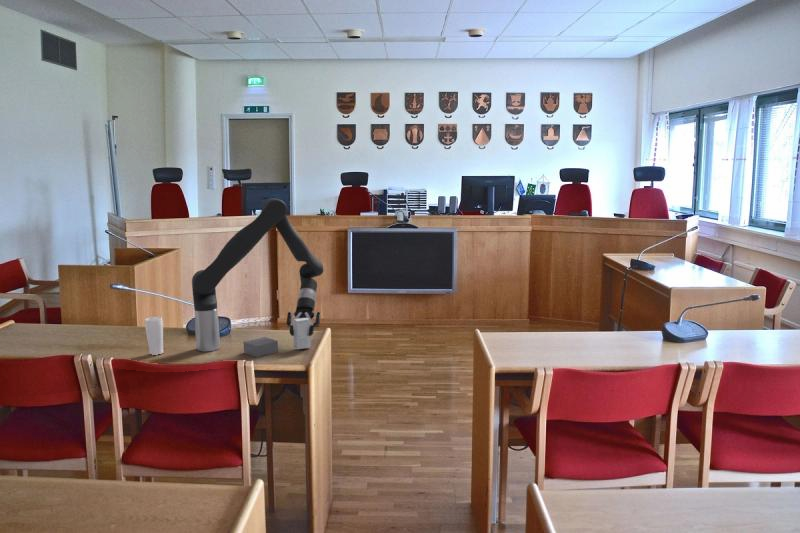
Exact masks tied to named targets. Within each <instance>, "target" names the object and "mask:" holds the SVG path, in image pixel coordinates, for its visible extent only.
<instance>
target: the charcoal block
mask: <svg viewBox="0 0 800 533" xmlns="http://www.w3.org/2000/svg"><path fill="white" fill-rule="evenodd" d="M278 342H279V341H278V340H276V339H273V338H270V337H267V336H262V337H258V338H253V339H248V340H244V341H243V342H242V343H243V353H244V354H246V355H250V356H251V357H254V356H255V357H254V358H260V357H259V356H261V357H264V356H263V355H265V356H268V355H267V354H269V355H272V354H271V353H273V354H276V353H275V352H277V353H279V343H278Z"/></svg>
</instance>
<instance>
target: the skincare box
mask: <svg viewBox="0 0 800 533" xmlns="http://www.w3.org/2000/svg"><path fill="white" fill-rule="evenodd" d="M292 322H293V348H294V349H296V350H302V349H303V350H304V349H308V348H311V347H312V346H311V345H312V343H311V336H309V329H310V326H311V325H310V319H308V318H306V317H305V318H298V319H294V318H292Z"/></svg>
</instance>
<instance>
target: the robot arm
mask: <svg viewBox="0 0 800 533" xmlns="http://www.w3.org/2000/svg"><path fill="white" fill-rule="evenodd" d="M287 213H288V206H287V204H286V203H285V202H284V201H283V200H282V199H280V198H279V199H278V198H277V197H271V198H268V199H266V200H265V201H264V202H263V204H262V211H261V212H260V213H259V214H258V216H257V217H256V218H255V219H254V220H253V221H251V222H250V223H249V224H247V225H246V226H244V227H243V228H241V229H240V230H238V231H237V232H235V234H234V235H233V236H232V237H231V238H230V239H229V240H228V241H227V243H225V245H224V246H223V247H222V249H220V252H219V254H217V257H215V259H214V260H213V261H212V262H211V263H210V264H209V265H208V266H207V267H206V268H205V269H201V270H198V271H196V272H195V273H194V274H193V276H192V278H191V287H192V288H191V289H192V298H193V299H192V300H193V309H194V320H195V321H194V322H195V326H194V332H195V333H194V334H195V335H194V336H195V347H196V349H197V351H199V352H214V351H217V350H219V349H220V348H221V339H220V337H221V336H220V327H219V326H220V324H219V313H218V312H219V311H218V310H219V309H218V300H217V292H216V287H217V286H218V285H219V283H220V282H221V281H222V279H224V277H225V276H226V275H227V274H228V273H229V272H230V271H231V270H232V269H233V268H235V266H237V265H238V264H239V263H240V262H241V261H242V260H243V259H244V258H245V257H246V256H247V255H248V254H249V253H250V252H251V251H252V250H253V249H254V248H255V247H256V245H257V244H259V242H260V241H261V239H262V238H263V237H264V236H265V235H266V234H267V233H268V232H269V231H270V230H271V229H272V228H273V227H275V229H277V231H278V232H279V234H280V236H281V238H282V239H283V241H284V243H285V245H287V247H288V249H289V251H290V253H291V254H292V256H293V257H294V259H295V260H296V262H304V263H303V264H302V265H301V266H300V268H299V270H298V271H299V279H300V289H299V292H298V297H297V302H296V309H295V311H294V312H292V311H288V312H287V317H286V326H287V327H288V328H289V334H290V336H291V337H294V335H293V321H292V320H293V319H298V318H305V317H306V318H308V319H310V329H309V336H310V337H312V336H313V335H314V333H315V332H314V331H315V328H319V327H320V323H321V318H322V317H321V316H322V315H321V312H320V311H317V312H315V306H316V303H317V302H316V301H317V300H316V299H317V289H318V281H316V279H314V278H315V277H319V276H321V275H323V272H324V266H323V263H322V261H321V260H320V259H318V257H316V256H315V254H313V252H311V251H310V250H309V247H308V246H307V244H306V243H305V241H304V240H303V238H302V237H301V235H300V234H299V233H298V231H297V230H296V229H295V228H294V227H293V225H292V223H291V222H290V220H289V218H288V216H287ZM313 318H315V322H313V320H312V319H313Z"/></svg>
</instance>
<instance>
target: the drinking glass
mask: <svg viewBox="0 0 800 533" xmlns="http://www.w3.org/2000/svg"><path fill="white" fill-rule="evenodd" d="M144 325H145V335H146V340H147V344H148V352H149V355H150V354H152V355H151V356H153V355H156V356H159V355H158V354H161V355H162V353H164V324H163V318H162V317H161V316H152V317H148V318H145V319H144Z"/></svg>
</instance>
